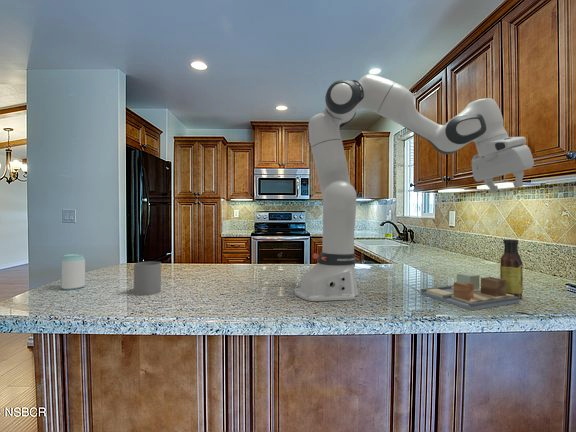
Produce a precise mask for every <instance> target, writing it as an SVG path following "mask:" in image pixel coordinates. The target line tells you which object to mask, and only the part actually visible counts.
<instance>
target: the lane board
mask: <svg viewBox="0 0 576 432" xmlns="http://www.w3.org/2000/svg"><path fill="white" fill-rule="evenodd" d="M475 292H481V287H479V289H478V290H474V293H475ZM420 295H422V296H426V297H429V298H432V299H435V300H437V301H438V300H439V301H441V302H444V303H448V304H450V305H454V306H458V307H460V308H463V309H466V310H470V311H475V310H483V308H484V309H489V307H490V308H495V307H494V306H496V307H500V306H501V305H502V306H506V305H507V304H508V305H514V303H515V304H520V298H519V297H516V296H515V297H508V298H502V299H495V300H488V301H481V302H474V303H466V302H463V301H460V300H456V299H453V298H451V296H452V295H454V284H453V285H446V286H443V285H442V286H436V287H428V288H421V289H420ZM508 305H507V306H508Z"/></svg>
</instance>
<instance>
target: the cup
mask: <svg viewBox="0 0 576 432" xmlns="http://www.w3.org/2000/svg"><path fill="white" fill-rule="evenodd" d="M161 289H162V262H161V261H151V260H149V261H140V262H134V265H133V294H134V295H135V296H141V297H142V296H152V295H157V294H159V293H161V291H162V290H161Z"/></svg>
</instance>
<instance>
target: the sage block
mask: <svg viewBox="0 0 576 432" xmlns="http://www.w3.org/2000/svg"><path fill="white" fill-rule="evenodd" d="M456 283H461V284H464V283H474V290H478V289H479V288H480V274H475V273H470V272H460V273H459V272H457V273H456Z"/></svg>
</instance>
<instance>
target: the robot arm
mask: <svg viewBox="0 0 576 432" xmlns="http://www.w3.org/2000/svg"><path fill="white" fill-rule="evenodd" d="M324 100H325V108H324V110H323V111H322V112H320V113H317V114H315V115H313V116H312V117H311V118H310V119H309V121H308V137H309V144H310V150H311V153H312V154H311V155H312V158H313V162H314V163H313V164H314V167H315V171H316V174H317V180H318V184H319V187H320V188H319V189H320V192H321V196H322V251H321V252H320V254H319V253H315V252H314V253H313V255H312V258H313V259H315V260H317V263H316V264H315V265H313V266H311V268H309V270H308V271H306V272H305V273H304V274H302V278H301V280H300V286H299V287H296V288H294V290H293V291H294V292H293V293H294V295H295V296H297V297H298V298H300V299H303V300H305V301H309V302H325V301H326V302H327V301H346V300H347V301H348V300H349V301H352V300H355V299H356V297H357V296H358V295H359V290H358V287H357V282H356V276H355V266H356V253H355V228H356V226H355V225H356V215H357V214H356V212H357V199H358V198H357V191H356V189H355V187H354V186H353V185H352V184H351V181H350V175H349V168H348V162H347V161H348V160H347V157H346V152H345V149H344V143H343V139H342V136H341V128H342V127H343V126H345V125H348V124H349V123H351V121H353V119H354V118H355V116H356V114H357V111H358V110H360V109H361V110H362V109H365V110H366V109H367V110H369V111H372V112H374V113H375V114H377V115H379V116H381V117H383V118H386V119H387V120H389V121H392V122H394V123H395V124H398V125H401V126H402V127H403V128H405V129H407V130H408V131H410V132H412V133H414V134H415V135H418V136H419V137H421V138H423V139H425V141H427V142H429V144H431V145H432V147H433V148H434V150H436V151H437V152H438V153H440V154H442V155H451V154H456V153H457V152H458V151H460V150H461V149H462V148H463V147H465V146H467V145H468V144H469V143H472V142H474V144H475V148H476V151H477V154H474V155H473V157H472V159H471V171H472V176H473V180H475V182H477V183H478V182H482V181H484V184H485V185H486V186H487V187H488V188H489V191H490V193H494V192H498V191H499V186H498V185H495V184H494V182H493V181H494V179H493V178H497V177H498V178H499V177H501V176H502V177H503V176H505V175H510V174H513V177H515V179H514V181H512V184H513V187H514V188H520V187H523V186H524V182H523V179H524V175H525V173H524V171H525V170H529V169H532V168H533V167H534V164H535V160H534V157H533V154H532V152H531V149H530V147H529V146H528V145H527V138H526V137H525V136H509V134H508V132H507V130H506V129H505V126H504V124H505V123H504V118H503V114H502V112H501V109H500V107H499V105H498V104H497V102H496V101H495V99H493V98H491V97H483V98H478V99H476V100H473V101H471V102H469V103H468V104H467V105H466V106H465V108H464V109H463V110H462V111H460V112H459V113H458V114H457V115H455V116H454V117H452V118H451V119H450V120H448V121H447V122H446V123H444V124H439V123H437V122H435V121H433V120H431V119H430V118H428V117H426V116H424V115H423V114H421V113H420V112H419V111H418V110H417V108H416V104H415V100H414V96H413V94H412V92H411V91H410V90H409V89H408V88H407V87H405V86H404V85H402V84H400V83H397V82H395V81H393V80H391V79H390V78H389V79H388V78H386V77H383V76H379V75H376V74H371V73H367V74H365V75H363V76H362V77H360V79H359V80H356V79H352V80H351V79H350V80H347V79H340V80H336V81H334V82H332V83H331V84H330V86H329V87H328V88H327V90H326V93H325V99H324Z"/></svg>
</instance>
